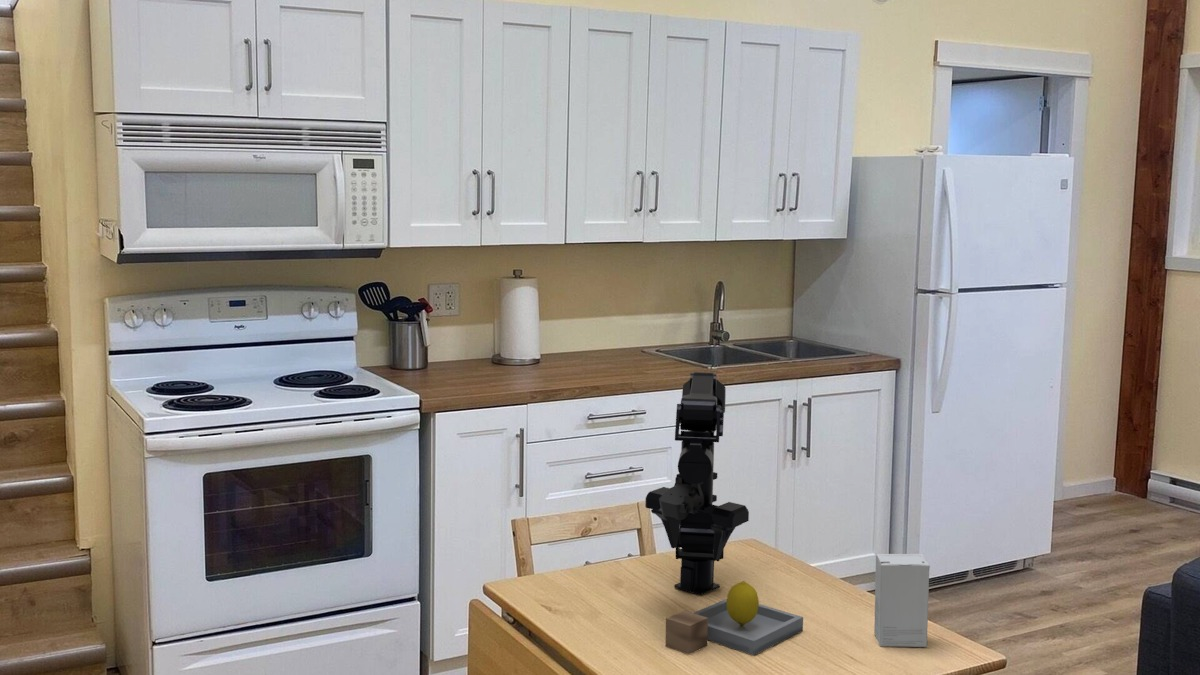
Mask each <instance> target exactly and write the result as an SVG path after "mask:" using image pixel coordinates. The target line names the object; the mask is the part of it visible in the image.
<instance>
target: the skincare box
mask: <svg viewBox="0 0 1200 675" xmlns="http://www.w3.org/2000/svg"><path fill="white" fill-rule="evenodd" d="M930 568H931V566H930V563H929V562H928V561H927V559H926V557H925V556H924V555H923V553H875V576H874V577H875V584H874V586H875V588H874V590H875V591H874V627H873V628H874V635H875V637H876V638H875V639H876V640H877V642H878V645H879V647H901V648H902V647H905V648H906V647H908V648H909V647H910V648H913V647H914V648H926V647H928V626H929V625H928V620H929V591H930V590H929V588H930Z"/></svg>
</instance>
